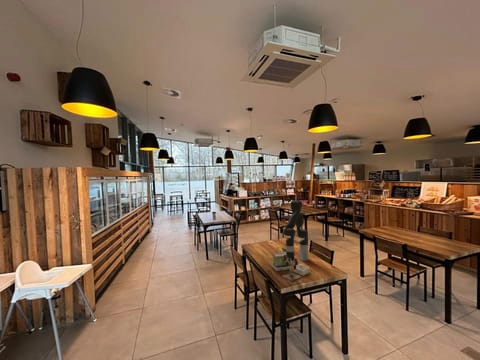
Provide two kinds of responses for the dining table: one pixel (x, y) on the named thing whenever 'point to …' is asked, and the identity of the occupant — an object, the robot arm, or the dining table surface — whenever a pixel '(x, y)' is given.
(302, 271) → the dish
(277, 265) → the tea box
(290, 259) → the robot arm
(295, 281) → the mat
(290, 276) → the lid
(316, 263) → the dining table surface
